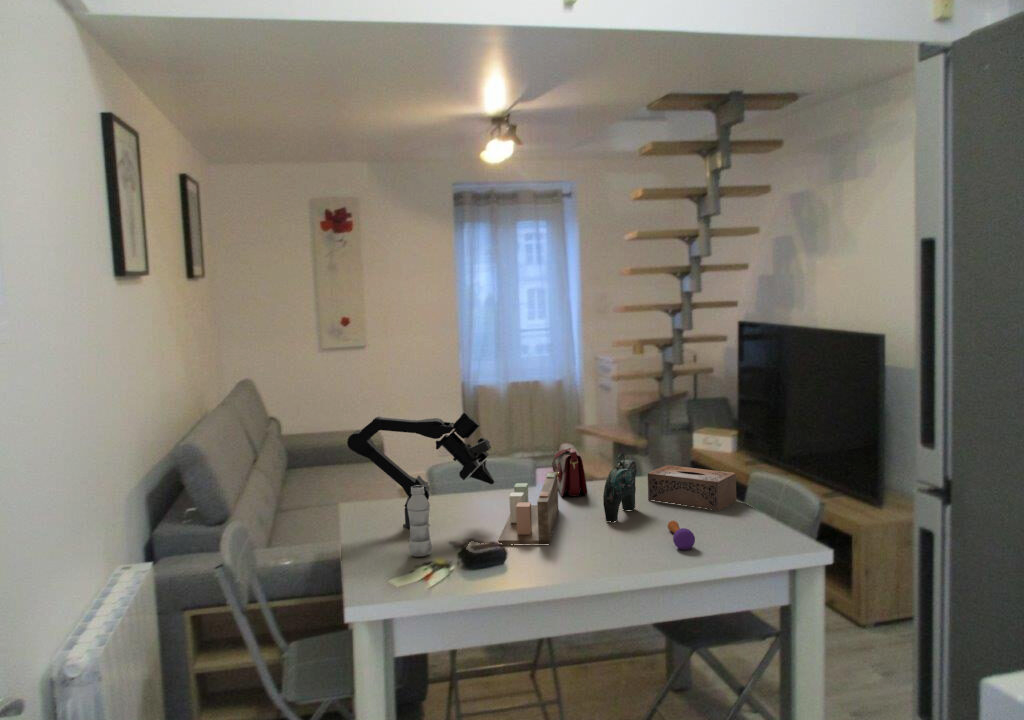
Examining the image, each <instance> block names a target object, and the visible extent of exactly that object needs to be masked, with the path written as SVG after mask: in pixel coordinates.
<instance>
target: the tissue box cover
mask: <svg viewBox="0 0 1024 720" xmlns="http://www.w3.org/2000/svg"><path fill="white" fill-rule="evenodd" d="M647 494H648V495H647V499H648V500H655V501H661V502H668V503H675V504H681V505H687V506H694V507H701V508H707V509H712V510H711V511H713V510H717V511H716V512H720V511H722V510H723V509H722V508H724V507H725V508H727V507H729V506H730V505H732V504H733V503H735V502H737V473H736V472H731V471H721V470H712V469H703V468H696V467H695V468H694V467H688V466H687V467H685V466H678V465H670V464H669V465H668V464H666V465H664V466H662V467H658V468H657V469H654V470H652V471H649V472H648V473H647ZM728 505H729V506H728ZM726 506H727V507H726ZM725 508H724V509H725ZM707 509H706V510H707ZM721 509H722V510H721ZM719 510H720V511H719Z"/></svg>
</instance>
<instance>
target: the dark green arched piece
mask: <svg viewBox="0 0 1024 720" xmlns="http://www.w3.org/2000/svg"><path fill="white" fill-rule="evenodd" d="M621 456H622V457H623V459H622V460H620V459H621ZM617 458H618V460H617V463H618V465H617V466H614V467H613V468H612V469H610V471H609V474H608V475H607V478H606V480H605V484H604V488H603V489H604V490H603V495H602V497H603V499H602V501H603V509H604V510H603V511H604V515H605V522H606V521H611V522H614V521H616V520H617V521H618V519H619V510H620V505H621V507H622V510H623V509H624V510H633V509H634V508H635V509H636V493H637V492H636V476H637V464H636V462H635V461H634V460H630V459H629V457H627V455H625V454H623V453H620V454H619V455H618V457H617ZM635 509H634V510H635ZM624 510H623V511H624ZM634 510H633V511H634Z"/></svg>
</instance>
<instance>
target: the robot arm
mask: <svg viewBox="0 0 1024 720" xmlns="http://www.w3.org/2000/svg"><path fill="white" fill-rule="evenodd" d="M480 427H481V425H480V423H479V422H478V421H477V420H476V419H475V418H474V417H472V416H471V415H469V414H468V413H466V412H465V411H464V412H463V413H462V414H461V415H460V417H459V418H458V419H457V420H456V421H455V422H448V421H444V420H443V419H441V418H439V417H437V418H436V417H435V418H426V419H418V420H415V419H405V418H404V419H401V418H391V417H382V416H376V417H374V418H373V419H372V420H371V421H370V422H369V423H368V424H367V425H366V426H364V427H363V428H362V429H359V430H358V429H357V430H354V431H353V432H352V433H351V434H350V435H349V437H348V439H347V447H348V448H349V450H351V451H352V452H354V453H355V454H358V456H361V457H364V458H366V459H367V460H370V461H371V462H372V463H373V464H374V465H376V466H377V467H378V468H379V469H380V470H382V471H383V472H384V473H385V474H386V475H387V476H389V477H390V478H391V479H392V480H393V481H395V483H397V484H398V485H399V486H401V488H402V489H403V491H404V492H405V494H406V495H407V498H406V501H405V504H404V523H403V524H402V526H403V527H404V526H405V527H404V528H407V529H409V530H410V521H409V515H408V509H407V504H408V501H409V499H410V498H411V496H412V494H411V487H412V486H417V485H421V486H424V491H425V493H424V496H425V497H426V498H427V499H428V500H430V499H429V498H430V495H431V488H430V486H429V485H428V484H429V482H427V481H425V480H424V479H423V478H422V476H420V474H419V475H417V477H413V476H411V475H410V474H408V473H407V472H406V471H405V470H404V469H403V468H401V467H400V466H399V465H398V464H396V463H395V462H394V461H393V460H392V459H391V458H390V457H388V456H387V455H386V454H385V453H384V452H383V451H382V450H381V449H379V448H378V447H377V446H376V444H375V442H374V441H373V439H372V437H373V436H375V435H376V434H377V433H378V432H379V431H383V432H384V431H385V432H400V433H408V434H409V433H410V434H417V435H420V436H422V437H426V438H430V439H434V440H436V441H435V449H436V450H440V449H441V447H443V449H445V451H447V452H448V453H449V454H450V455H451V456H452V457H453V458H452V460H453V461H454V462H456V461H457V462H458V463H459V464H460V466H462V469H461V470H460V471H459V475H458V476H459V477H460V478H461V479H462V480H463V481H465V480H466V479H467V478H468V477H469V478H472V479H474V480H478V481H481V482H483V483H487V484H489V485H493V484H494V483H495V480H494V478H493V477H492V475H491V473H490V471H489V469H488V467H487V458H488V456H490V454H489V453H488V451H490V449H492V446H491V444H490V440H488V438H485V437H481V438H478V439H477V443H476V444H474V445H472V444H470V443H466V442H465V441H464V440H465V439H469V438H470V437H471V436H472V435H473V434H474V433H475V432H476V431H477V430H478V429H479V428H480ZM448 434H449V435H448ZM439 439H440V440H439ZM429 527H430V523H429Z"/></svg>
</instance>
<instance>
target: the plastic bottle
mask: <svg viewBox="0 0 1024 720" xmlns="http://www.w3.org/2000/svg"><path fill="white" fill-rule="evenodd" d="M424 493H425V491H424V486H421V485H417V486H412V487H411V494H412V496H411V498H410V499H409V501H408V504H407V509H408V515H409V521H410V529H409V540H408V550H409V554H410V555H411V556H413V557H419V558H420V557H427V556H428V555H430V554H431V553H432V549H433V544H432V541H431V540H432V539H431V535H430V526H429V524H430V521H429V520H430V511H431V509H430V508H431V503H430V501H429V499H427V498H426V497H425V496H424Z"/></svg>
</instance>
